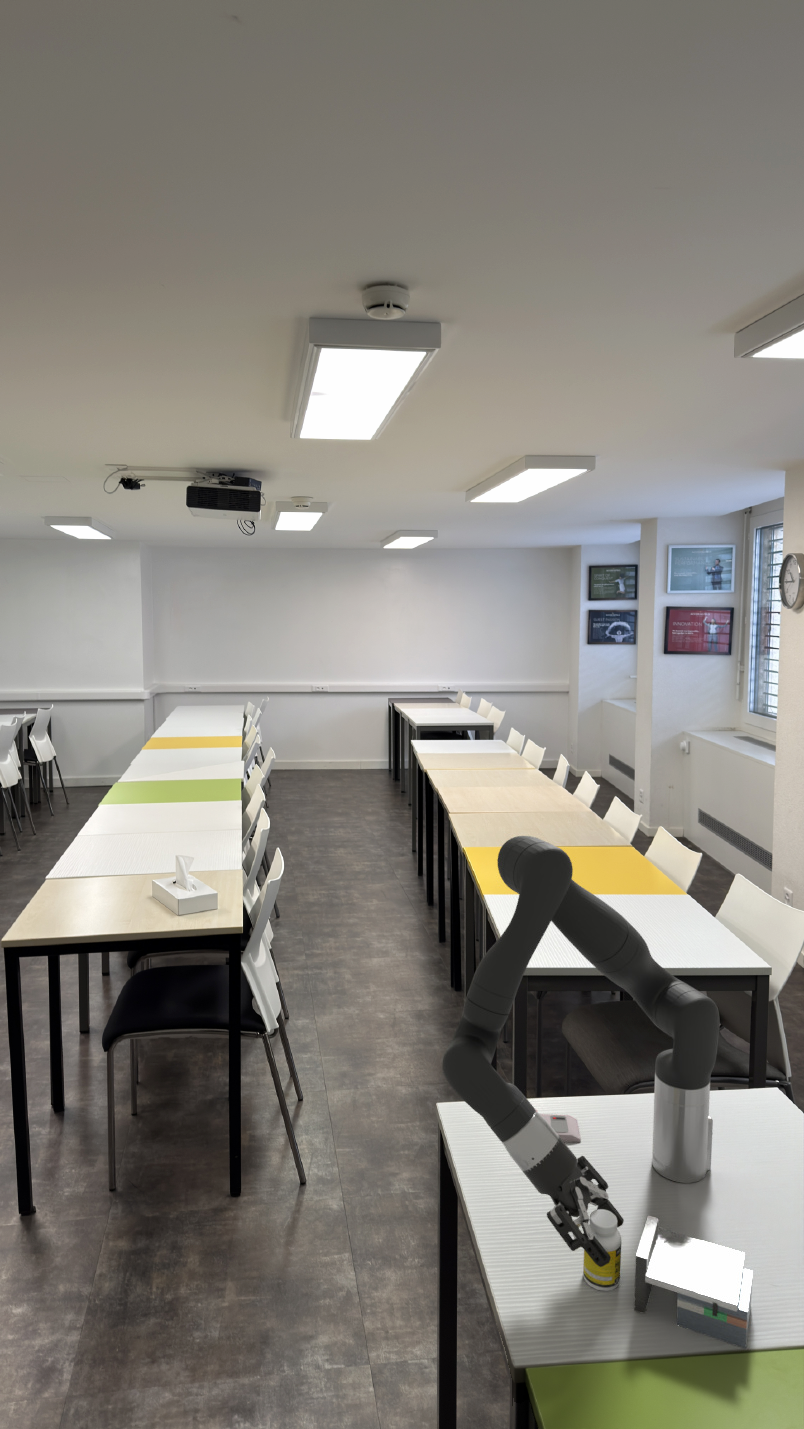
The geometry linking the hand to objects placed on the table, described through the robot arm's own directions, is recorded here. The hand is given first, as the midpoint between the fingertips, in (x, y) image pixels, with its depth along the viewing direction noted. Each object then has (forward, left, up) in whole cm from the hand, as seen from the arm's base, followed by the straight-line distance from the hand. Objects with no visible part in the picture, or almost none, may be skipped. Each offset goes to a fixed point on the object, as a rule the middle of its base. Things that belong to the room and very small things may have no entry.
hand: (612, 1243), depth 131 cm
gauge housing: (-9, +11, -6) cm, 16 cm away
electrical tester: (-13, -36, -7) cm, 38 cm away
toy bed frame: (-7, +9, -6) cm, 12 cm away
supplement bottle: (+1, -1, -6) cm, 7 cm away
